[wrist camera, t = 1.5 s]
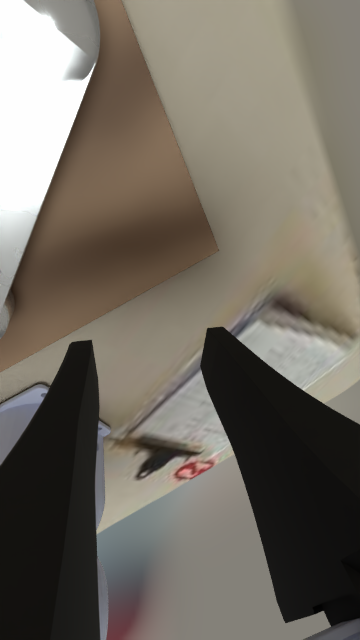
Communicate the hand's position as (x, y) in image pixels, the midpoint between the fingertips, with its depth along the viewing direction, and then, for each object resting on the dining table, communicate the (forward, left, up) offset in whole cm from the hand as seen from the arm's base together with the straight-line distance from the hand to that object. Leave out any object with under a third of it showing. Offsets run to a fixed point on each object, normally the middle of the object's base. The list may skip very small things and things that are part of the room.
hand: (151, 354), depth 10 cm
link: (+6, +3, -7) cm, 10 cm away
